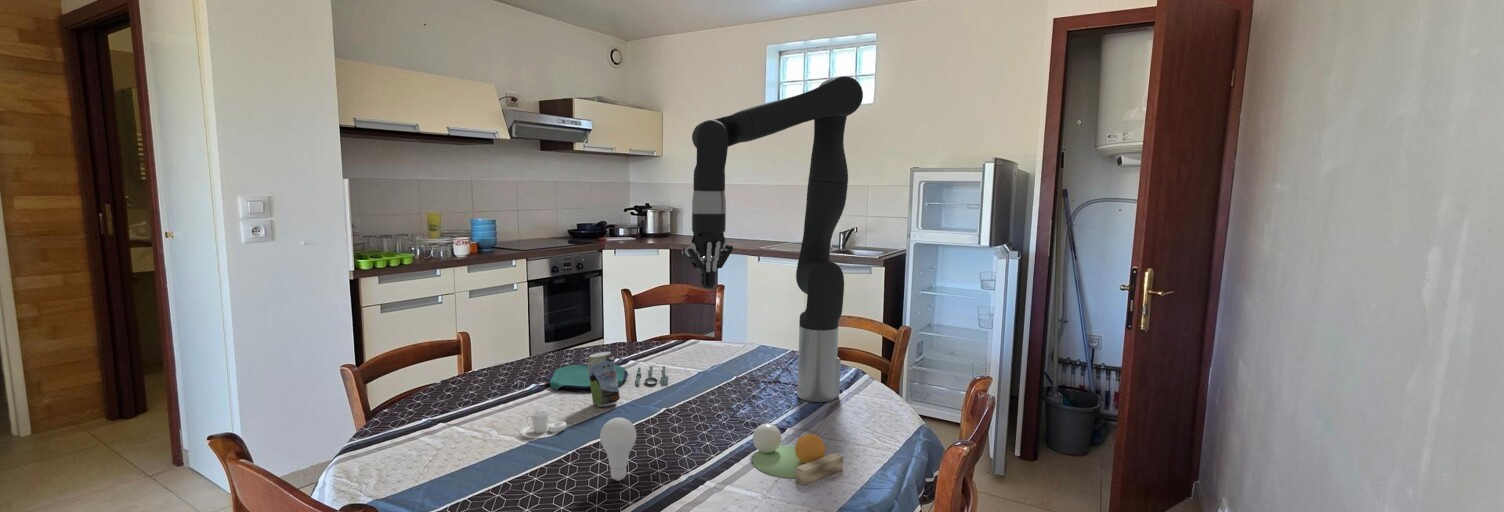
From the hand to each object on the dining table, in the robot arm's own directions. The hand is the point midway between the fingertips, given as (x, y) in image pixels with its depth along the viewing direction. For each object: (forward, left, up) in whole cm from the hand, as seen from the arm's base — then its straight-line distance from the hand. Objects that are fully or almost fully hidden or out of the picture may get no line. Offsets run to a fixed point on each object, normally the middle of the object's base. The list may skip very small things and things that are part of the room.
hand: (708, 287), depth 154 cm
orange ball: (-5, +38, -24) cm, 46 cm away
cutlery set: (+16, -26, -28) cm, 41 cm away
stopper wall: (-4, +43, -27) cm, 51 cm away
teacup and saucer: (+37, +6, -28) cm, 47 cm away
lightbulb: (+29, +31, -27) cm, 50 cm away
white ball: (0, +31, -24) cm, 39 cm away
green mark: (-2, +36, -27) cm, 45 cm away
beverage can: (+22, -8, -27) cm, 36 cm away
